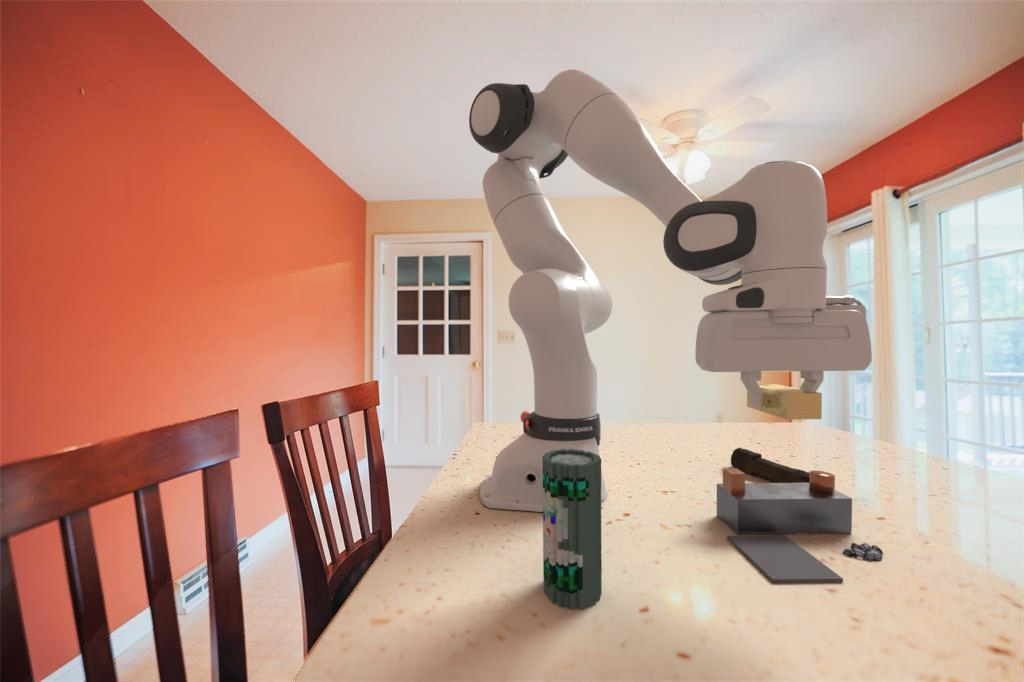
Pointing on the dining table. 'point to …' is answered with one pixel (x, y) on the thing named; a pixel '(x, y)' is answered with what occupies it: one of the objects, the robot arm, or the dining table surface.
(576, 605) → the can
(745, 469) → the hand tool
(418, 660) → the dining table surface
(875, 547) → the blueberries
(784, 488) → the plane body
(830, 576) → the mat
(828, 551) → the dining table surface
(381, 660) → the dining table surface
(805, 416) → the gold metallic block
